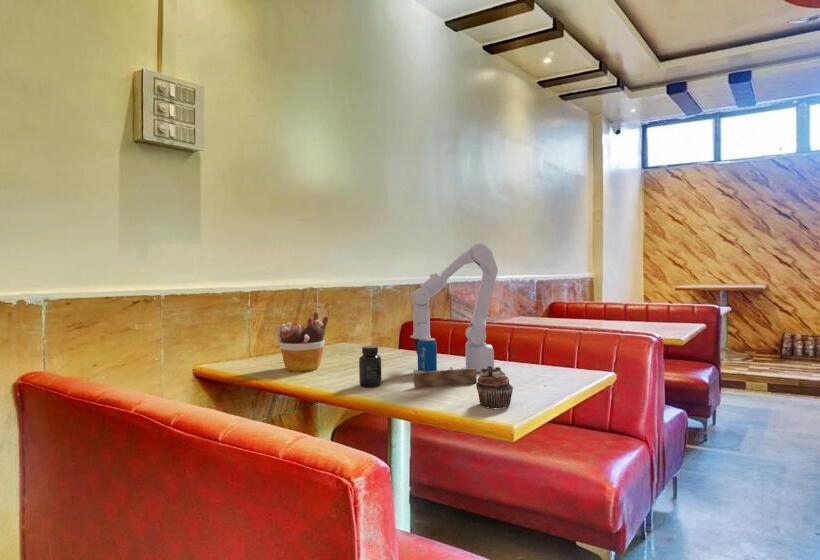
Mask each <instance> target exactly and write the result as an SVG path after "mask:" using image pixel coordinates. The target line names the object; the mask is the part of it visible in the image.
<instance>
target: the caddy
mask: <svg viewBox="0 0 820 560" xmlns="http://www.w3.org/2000/svg"><path fill="white" fill-rule="evenodd" d="M412 373H413V374H412V375H413V376H412V377H413V380H414V381H413V384H414V386H413V388H415V389H423V388H431V387H446V386H458V385H470V384H477V382H478V378H477V372H476V368H469V369H462V368H458V369H454V367H453V366H450V367H449V368H448V369H446V370H445V369H444V370H437V371H429V372H425V371H419V370H418V369H413V372H412Z"/></svg>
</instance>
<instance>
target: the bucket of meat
mask: <svg viewBox="0 0 820 560" xmlns="http://www.w3.org/2000/svg"><path fill="white" fill-rule="evenodd" d="M312 317H313V318H311V317H309V318H308V319H307V325H306V324H304V325H300V324H299V325H298V324H294V323H293V324H292V322H291V321H288V322H286V323H283V324H279V325H277V326H275V327H274V332H275V334H276V335H277V339H278V345H279V348H280V351H281V355H282V359H283V363H284V367H285V369H287V370H288V371H289V372H292V373H293V372H294V373H304V372H307V373H308V372H311V371H315V370H317V369H318V368H319V367H320V366H321V361H322V355H323V350H324V346H325V343H326V340H325V339H324V337H325V334H326V328H327V325H328V321H329V317H328V316H326V315H325V316H324V317H323V318H322V321H320V320H319V313H318V312H314V313H313V316H312Z"/></svg>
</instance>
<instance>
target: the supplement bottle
mask: <svg viewBox="0 0 820 560" xmlns="http://www.w3.org/2000/svg"><path fill="white" fill-rule="evenodd" d="M361 353H362V355H360V357H359V360H358V370H359V371H358V373H359V375H358V376H359V377H358V378H359V380H358V381H359V386H360V388H361V387H362V388H365V389H367V388H378V387H380V386H381V385H382V357H381V355H379V354H378V353H379V348H378V346H376V345H365V346H362V349H361Z"/></svg>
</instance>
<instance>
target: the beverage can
mask: <svg viewBox="0 0 820 560" xmlns="http://www.w3.org/2000/svg"><path fill="white" fill-rule="evenodd" d="M437 343H438V342H437V341H436V338H435V337H431V340H423V339H420V338H419V341H418V356H417V370H419V371H425V372H429V371H438V368H437V367H438V364H437V363H438V359H437V358H438V355H437V354H438V349H437V348H438V347H437V346H438V345H437Z"/></svg>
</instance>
